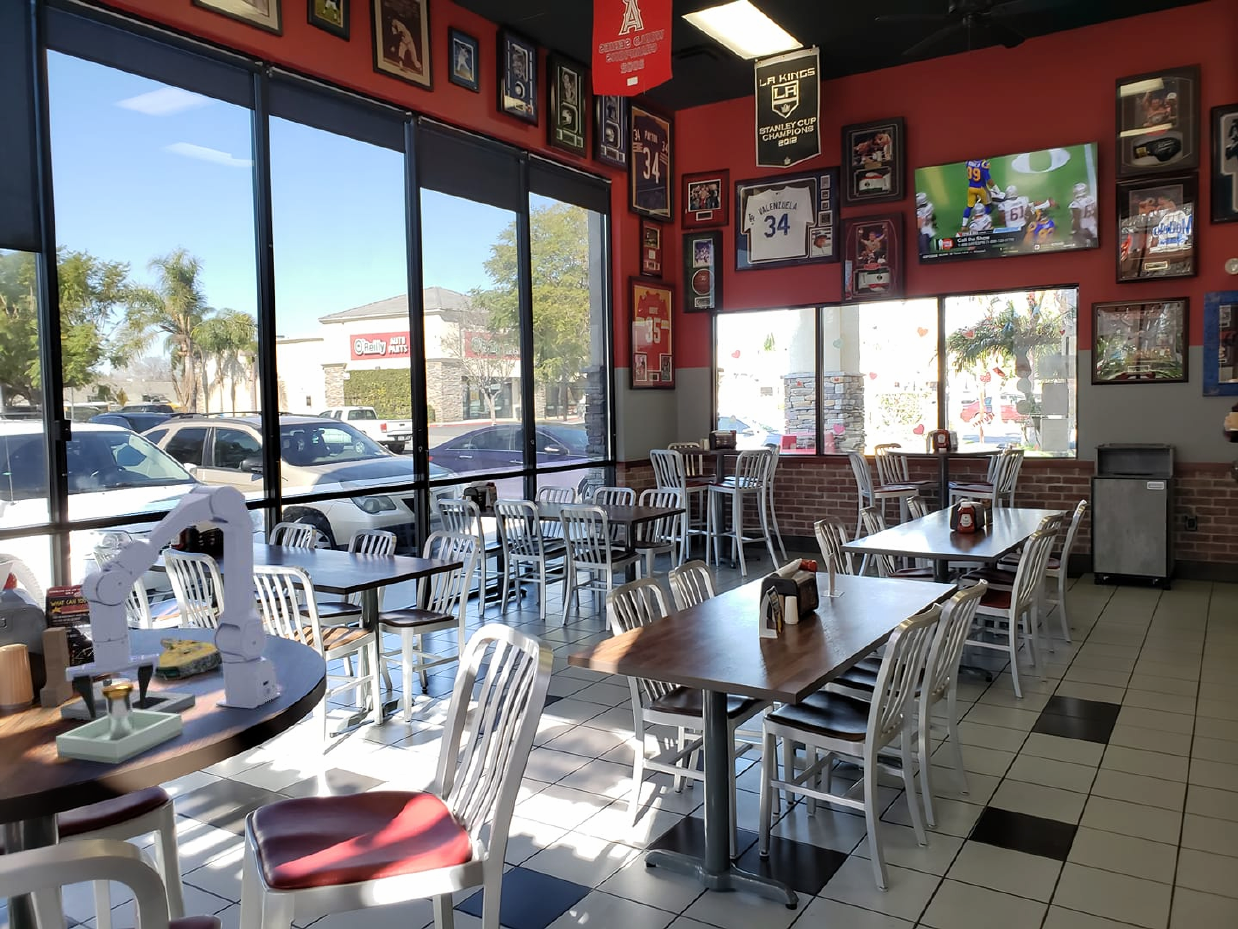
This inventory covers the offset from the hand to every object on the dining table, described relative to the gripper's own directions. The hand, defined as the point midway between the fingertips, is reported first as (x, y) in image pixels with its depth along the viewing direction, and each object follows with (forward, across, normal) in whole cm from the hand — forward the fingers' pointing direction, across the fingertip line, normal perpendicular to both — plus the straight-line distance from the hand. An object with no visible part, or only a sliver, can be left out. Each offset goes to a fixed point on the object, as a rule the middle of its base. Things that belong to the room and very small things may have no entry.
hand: (118, 712), depth 163 cm
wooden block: (+6, +13, -35) cm, 38 cm away
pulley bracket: (+6, 0, -20) cm, 21 cm away
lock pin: (+5, 0, -2) cm, 5 cm away
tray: (+6, 0, 0) cm, 6 cm away
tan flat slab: (+6, -11, -48) cm, 50 cm away
